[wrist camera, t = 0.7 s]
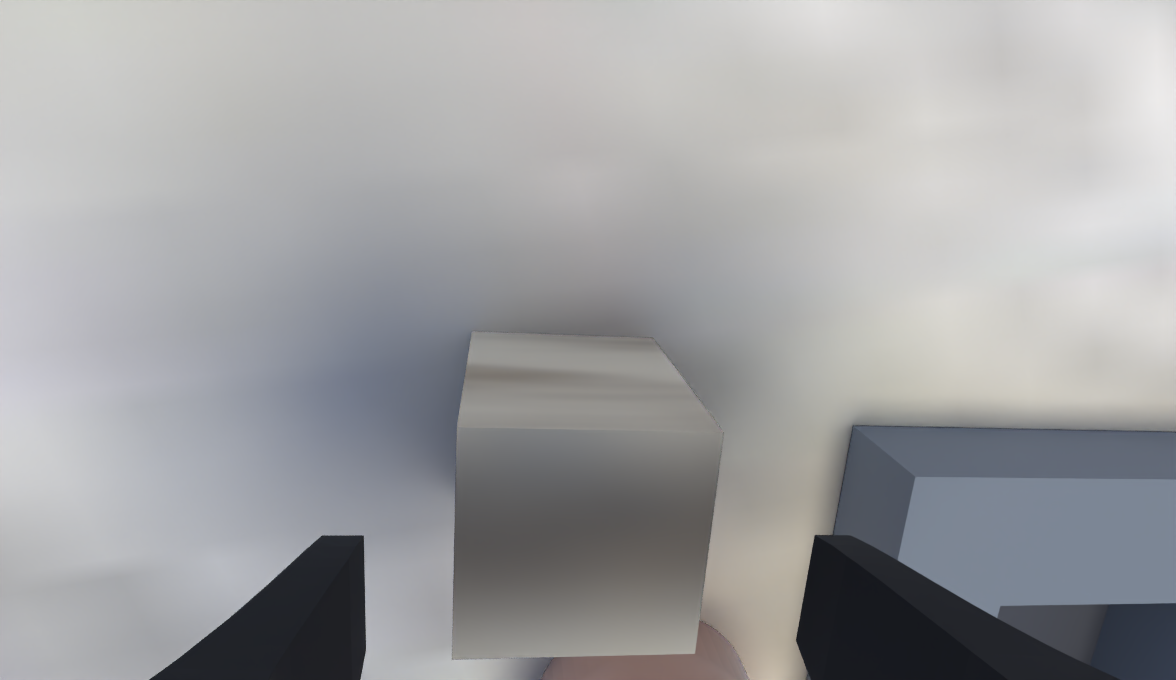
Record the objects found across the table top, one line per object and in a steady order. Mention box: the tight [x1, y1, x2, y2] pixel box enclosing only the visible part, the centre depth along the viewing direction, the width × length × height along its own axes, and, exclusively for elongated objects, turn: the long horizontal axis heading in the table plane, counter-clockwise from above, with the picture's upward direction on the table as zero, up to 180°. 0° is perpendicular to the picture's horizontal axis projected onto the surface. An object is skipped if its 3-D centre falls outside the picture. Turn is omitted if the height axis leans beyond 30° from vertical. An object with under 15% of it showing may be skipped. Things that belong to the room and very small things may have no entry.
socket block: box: [807, 426, 1176, 680], centre depth 20 cm, size 13×12×3 cm
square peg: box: [452, 331, 724, 660], centre depth 15 cm, size 4×4×6 cm
